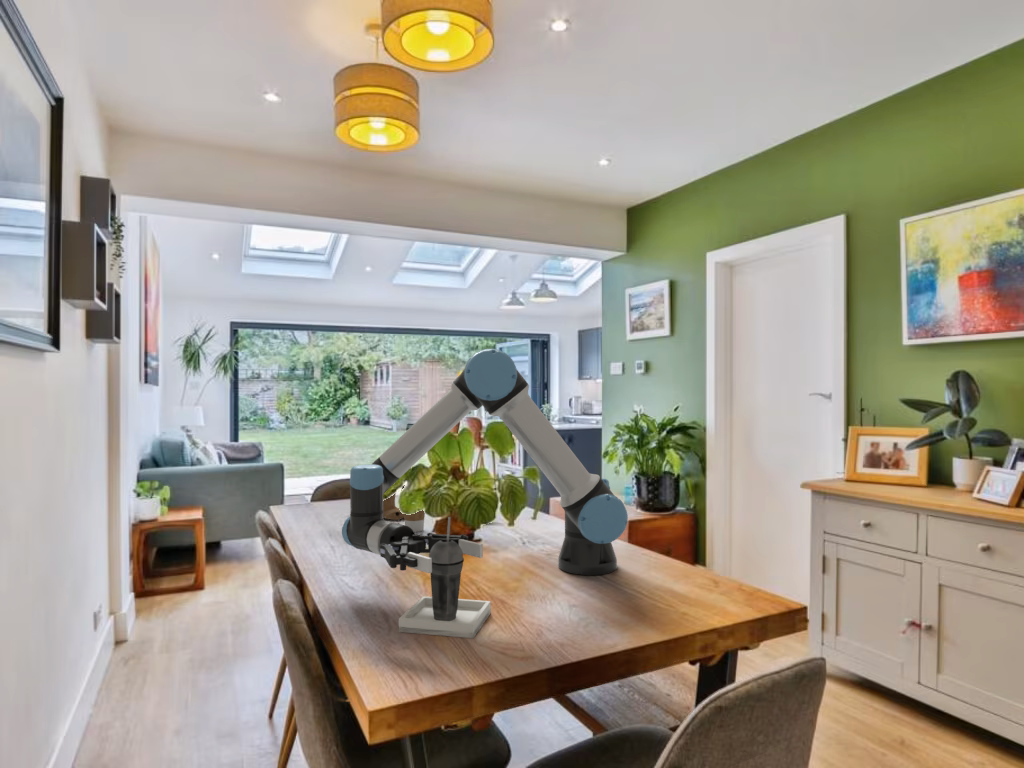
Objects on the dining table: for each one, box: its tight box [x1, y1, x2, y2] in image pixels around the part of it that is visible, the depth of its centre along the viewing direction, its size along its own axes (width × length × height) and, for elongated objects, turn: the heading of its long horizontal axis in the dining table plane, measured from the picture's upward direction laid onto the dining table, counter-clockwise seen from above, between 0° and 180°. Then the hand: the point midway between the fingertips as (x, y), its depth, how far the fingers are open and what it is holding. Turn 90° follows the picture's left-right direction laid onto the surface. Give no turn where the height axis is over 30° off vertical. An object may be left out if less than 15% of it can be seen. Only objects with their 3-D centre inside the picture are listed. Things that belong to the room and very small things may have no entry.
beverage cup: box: [428, 516, 465, 621], centre depth 123 cm, size 7×7×20 cm
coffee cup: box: [401, 484, 426, 533], centre depth 203 cm, size 8×8×15 cm
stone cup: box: [383, 493, 404, 521], centre depth 222 cm, size 15×12×15 cm
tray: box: [398, 595, 492, 639], centre depth 124 cm, size 15×13×2 cm
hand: (457, 558), depth 121 cm, fingers open, 13 cm apart
